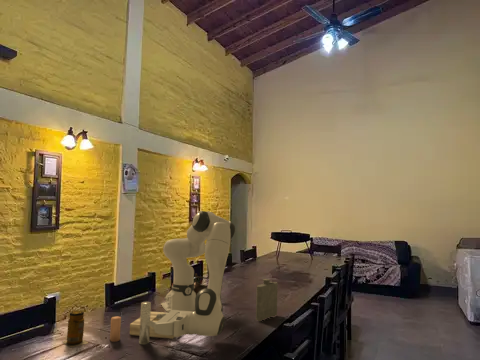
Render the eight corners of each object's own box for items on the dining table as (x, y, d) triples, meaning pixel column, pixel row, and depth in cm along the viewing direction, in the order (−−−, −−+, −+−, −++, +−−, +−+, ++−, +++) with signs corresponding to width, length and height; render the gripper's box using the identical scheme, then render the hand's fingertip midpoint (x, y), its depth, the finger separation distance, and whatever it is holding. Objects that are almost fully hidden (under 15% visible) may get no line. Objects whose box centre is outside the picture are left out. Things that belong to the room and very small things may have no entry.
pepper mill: (195, 304, 206) (196, 273, 208) (182, 301, 213) (184, 270, 215) (214, 300, 218) (215, 270, 219) (202, 296, 225) (203, 268, 226)
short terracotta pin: (108, 339, 149) (109, 317, 150) (118, 337, 151) (119, 315, 152) (111, 342, 146) (112, 319, 147) (121, 340, 148) (122, 318, 149)
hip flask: (259, 322, 177) (260, 281, 179) (253, 320, 180) (254, 280, 181) (278, 316, 189) (278, 278, 190) (272, 314, 192) (272, 276, 193)
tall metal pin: (137, 342, 147) (139, 302, 148) (146, 340, 149) (148, 301, 151) (141, 345, 144) (143, 304, 145) (150, 343, 146) (152, 303, 147)
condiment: (79, 337, 150) (81, 308, 151) (88, 343, 144) (90, 313, 145) (61, 342, 145) (64, 312, 146) (70, 348, 139) (72, 316, 140)
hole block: (148, 320, 175) (148, 311, 175) (187, 323, 172) (187, 314, 172) (129, 334, 155) (130, 324, 156) (173, 338, 152) (173, 327, 152)
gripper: (192, 307, 155) (162, 305, 157) (176, 322, 135) (142, 319, 137) (191, 322, 155) (161, 319, 157) (176, 339, 135) (141, 335, 137)
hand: (152, 319), depth 147 cm, fingers open, 8 cm apart
